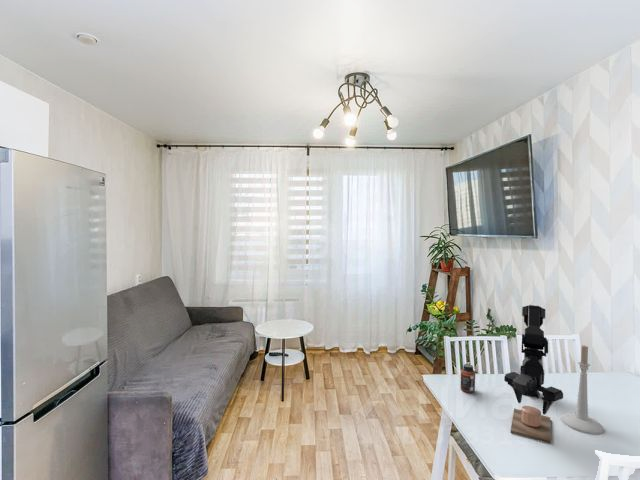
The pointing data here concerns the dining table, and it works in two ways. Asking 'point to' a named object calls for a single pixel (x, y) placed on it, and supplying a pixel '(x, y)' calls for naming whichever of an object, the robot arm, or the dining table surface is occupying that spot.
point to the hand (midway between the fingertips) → (531, 408)
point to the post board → (531, 428)
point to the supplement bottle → (468, 378)
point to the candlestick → (582, 403)
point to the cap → (531, 416)
